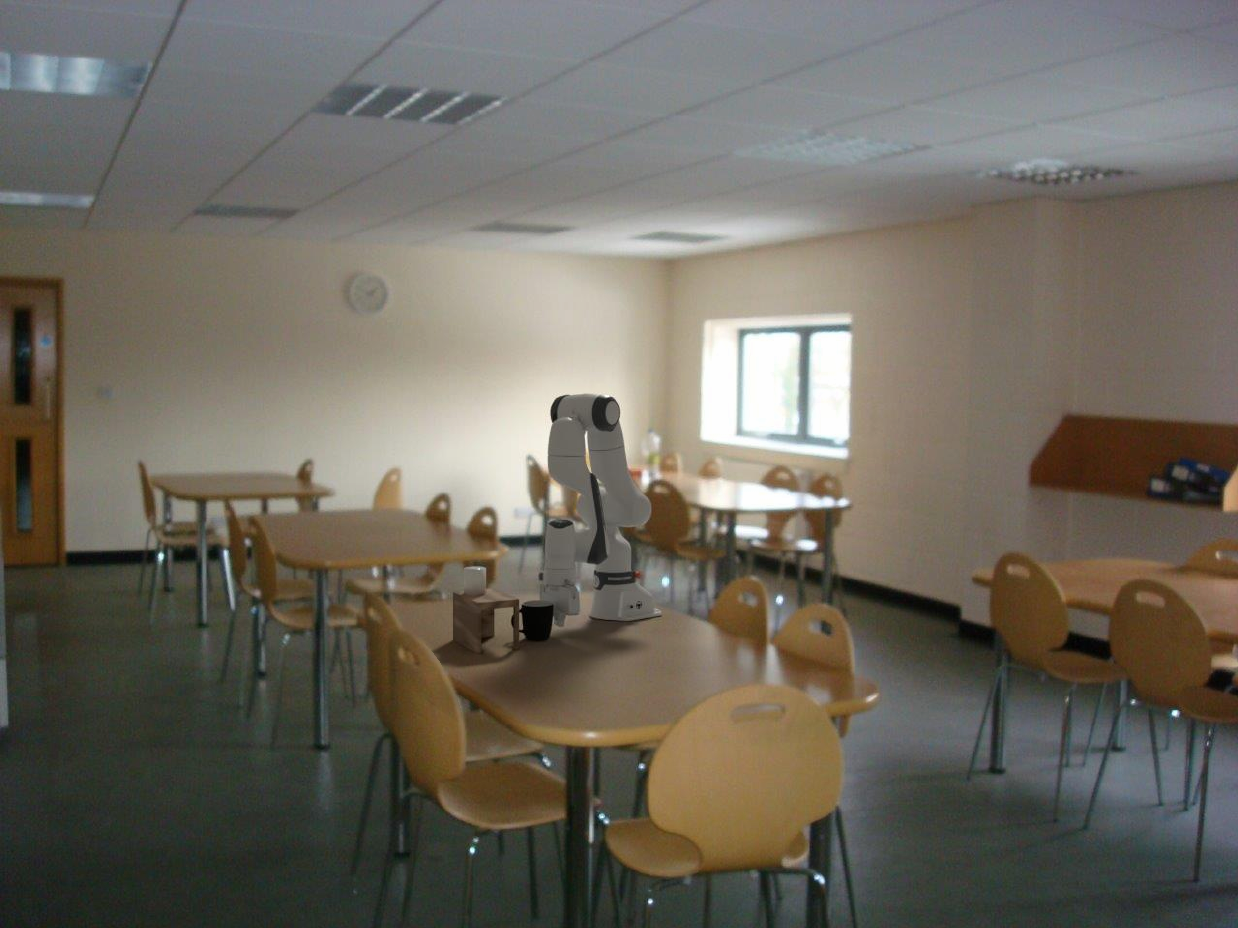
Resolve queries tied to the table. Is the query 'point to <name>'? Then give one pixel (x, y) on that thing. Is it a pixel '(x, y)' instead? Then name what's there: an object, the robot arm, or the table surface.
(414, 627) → the table surface
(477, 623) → the open wooden crate
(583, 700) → the table surface
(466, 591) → the white cylinder
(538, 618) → the mug
